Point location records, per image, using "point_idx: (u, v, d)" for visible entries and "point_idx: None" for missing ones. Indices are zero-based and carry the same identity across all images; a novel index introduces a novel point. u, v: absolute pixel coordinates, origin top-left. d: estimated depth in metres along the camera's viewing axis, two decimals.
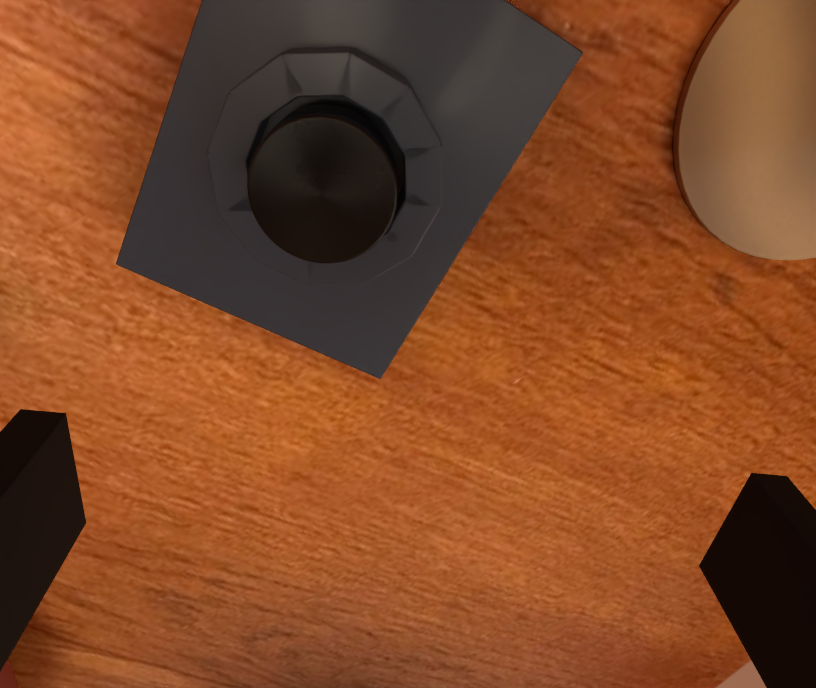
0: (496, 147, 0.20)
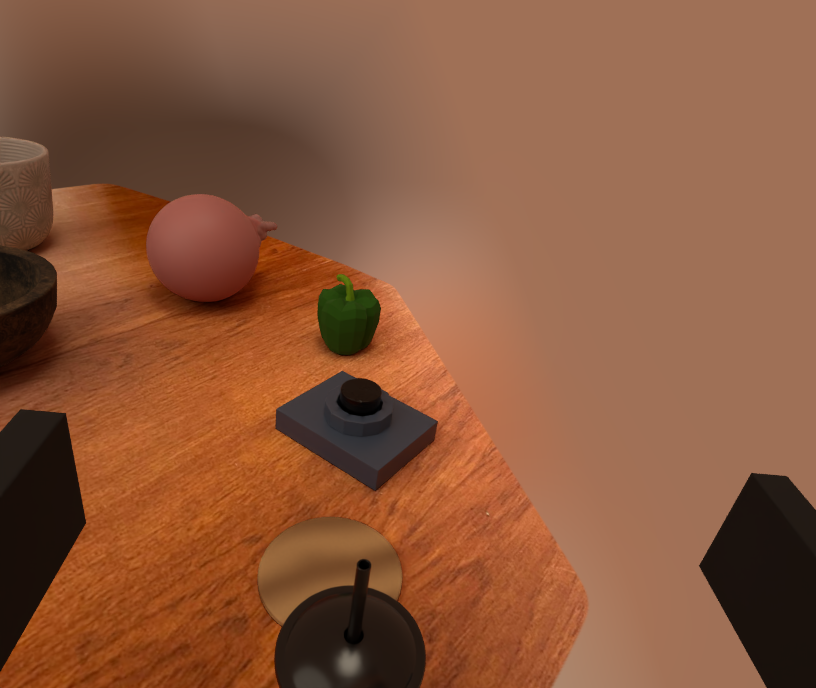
0: (353, 448, 0.60)
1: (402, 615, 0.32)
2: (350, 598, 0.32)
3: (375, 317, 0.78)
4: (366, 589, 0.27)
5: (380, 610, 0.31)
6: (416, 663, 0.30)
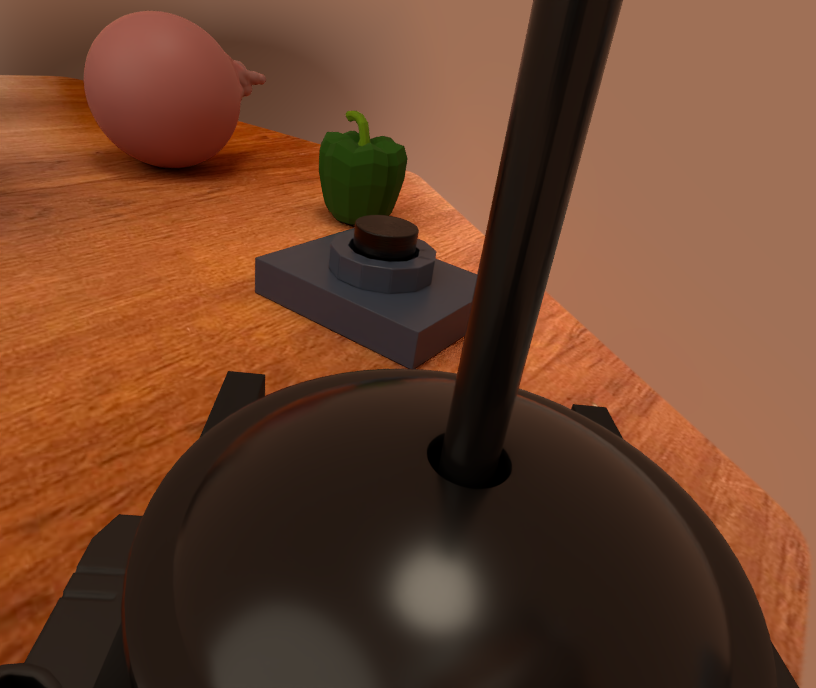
0: (377, 305, 0.37)
1: (602, 439, 0.09)
2: (428, 379, 0.09)
3: (399, 169, 0.56)
4: (583, 134, 0.05)
5: (540, 409, 0.09)
6: (725, 582, 0.07)
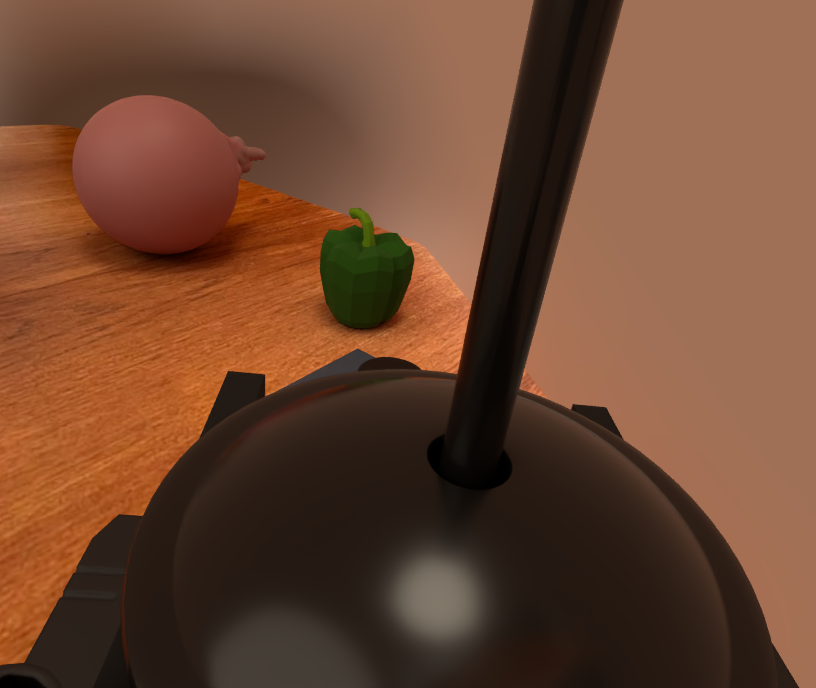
0: None
1: (603, 439, 0.09)
2: (428, 380, 0.09)
3: (406, 272, 0.52)
4: (584, 134, 0.05)
5: (540, 409, 0.09)
6: (725, 583, 0.07)
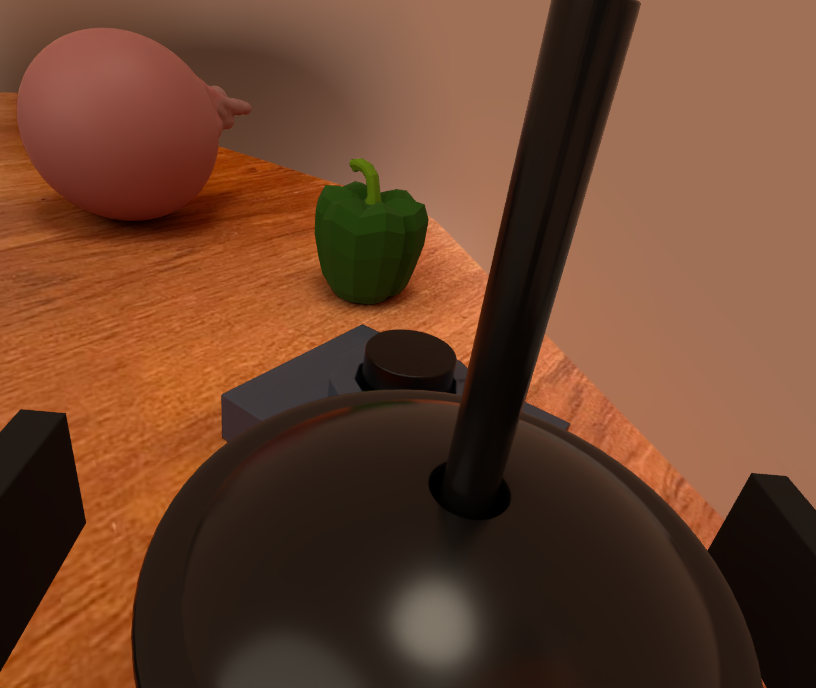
0: None
1: (599, 463, 0.10)
2: (429, 403, 0.09)
3: (418, 235, 0.43)
4: (583, 190, 0.05)
5: (538, 434, 0.09)
6: (716, 609, 0.07)
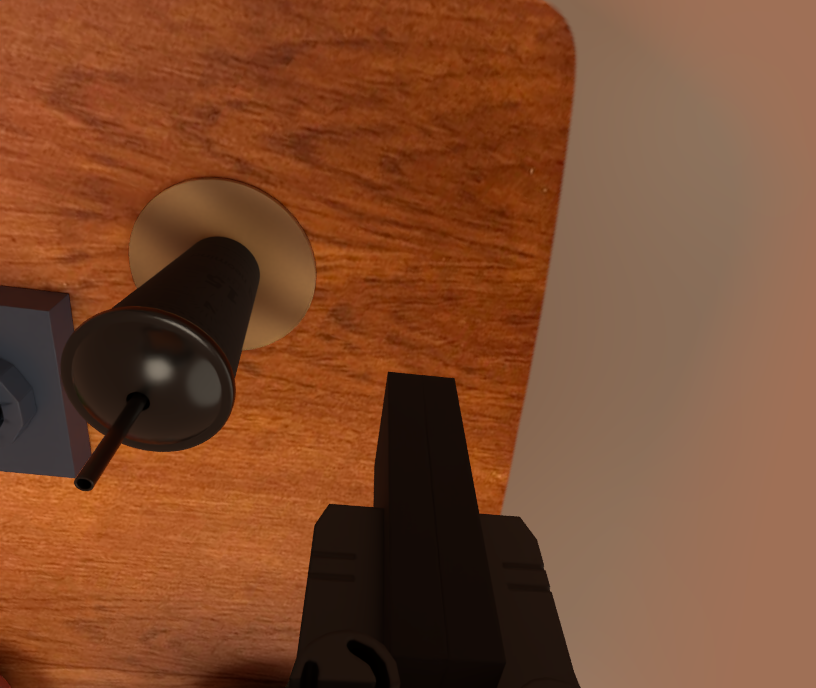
0: (43, 360, 0.39)
1: (72, 363, 0.26)
2: (104, 420, 0.27)
3: None
4: (100, 451, 0.22)
5: (89, 389, 0.26)
6: (107, 325, 0.25)
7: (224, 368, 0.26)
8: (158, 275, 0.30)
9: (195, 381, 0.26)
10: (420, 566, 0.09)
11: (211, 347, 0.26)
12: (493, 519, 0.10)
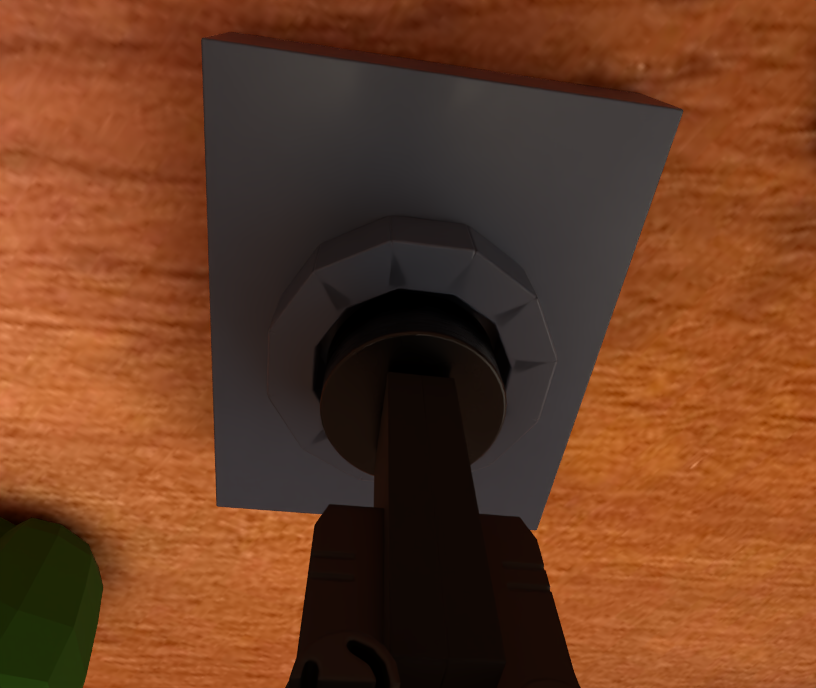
0: (601, 256, 0.16)
1: None
2: None
3: None
4: None
5: None
6: None
7: None
8: None
9: None
10: (420, 566, 0.09)
11: None
12: (493, 519, 0.10)
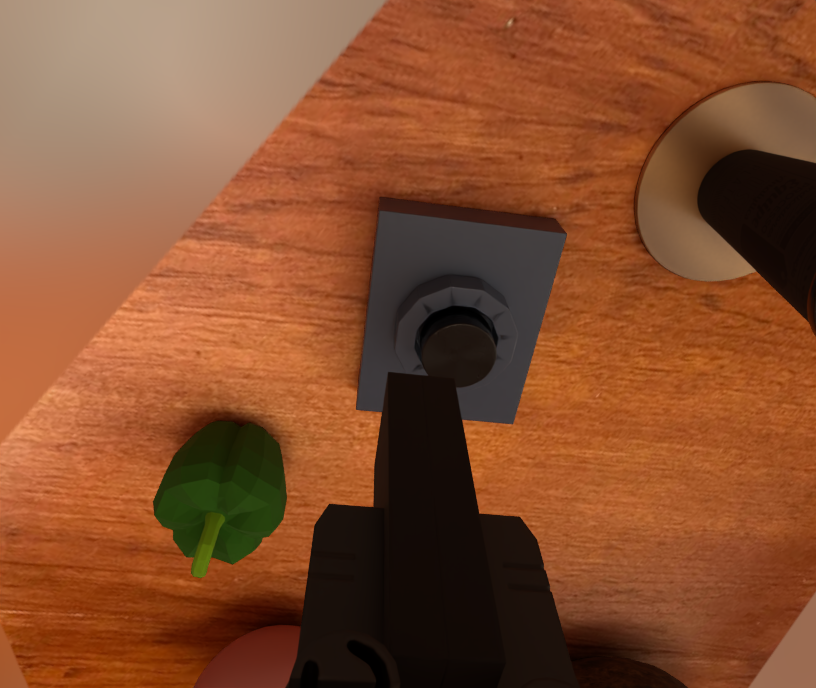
0: (537, 290, 0.36)
1: None
2: None
3: (206, 457, 0.38)
4: None
5: None
6: None
7: None
8: None
9: None
10: (420, 566, 0.09)
11: None
12: (493, 519, 0.10)
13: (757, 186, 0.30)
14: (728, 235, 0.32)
